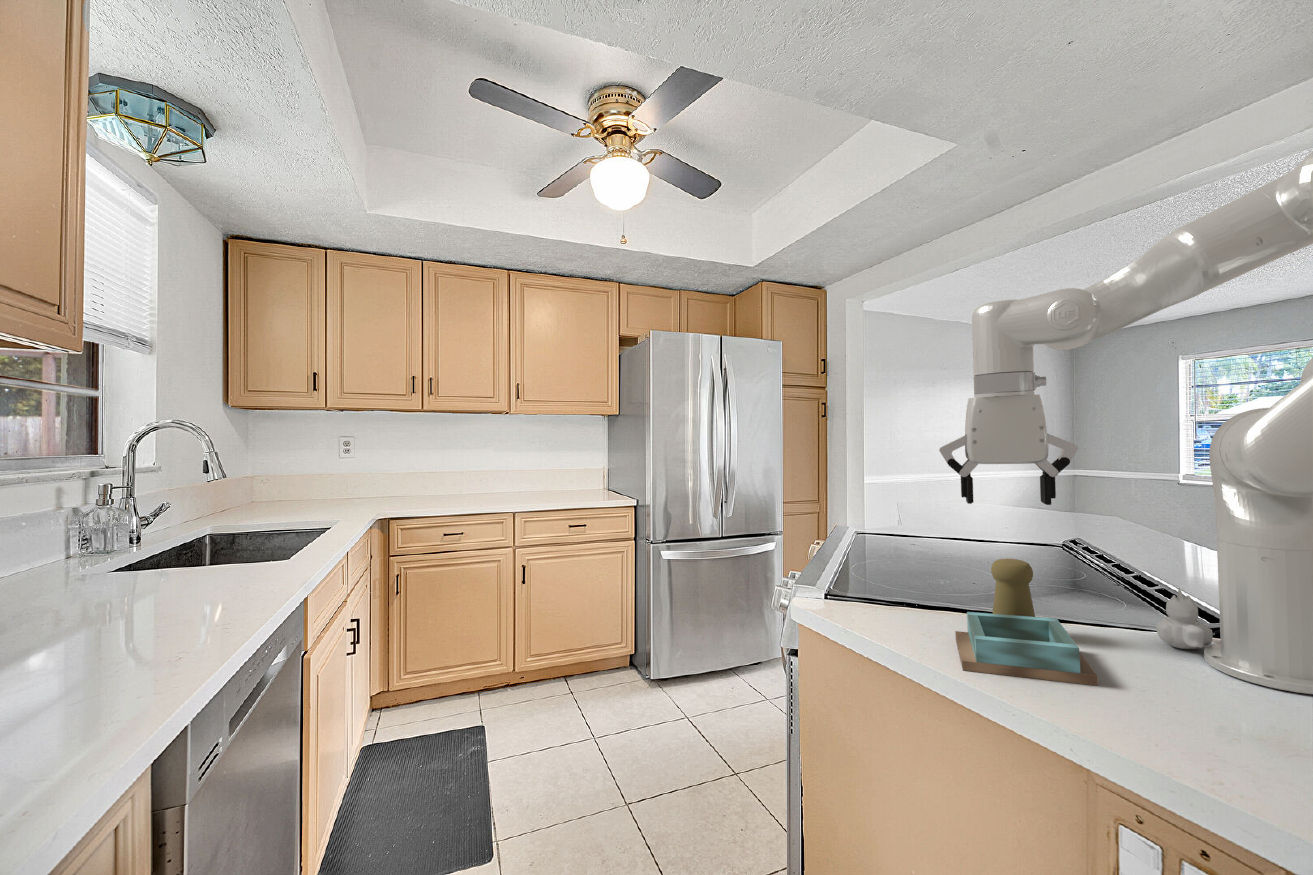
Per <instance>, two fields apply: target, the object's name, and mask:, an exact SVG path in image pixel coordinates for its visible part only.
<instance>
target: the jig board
mask: <svg viewBox="0 0 1313 875" xmlns="http://www.w3.org/2000/svg"><path fill="white" fill-rule="evenodd" d="M966 618H967V619H966V620H967V622H966V623H967V631H958V630H956V631H955V632H954V633H955V643H956V646H957V650H958V655H959V660H960V664H961V668H962V671H965V672H966V671H967V672H975V673H982V674H992V675H1001V676H1008V677H1009V676H1010V677H1016V678H1017V677H1018V678H1019V677H1020V678H1027V679H1035V680H1045V681H1053V682H1054V681H1055V682H1063V683H1071V684H1078V685H1079V684H1080V685H1090V686H1098V675H1097V673H1096V672H1095V671H1094V669H1093V668H1092V667H1091V665H1090V664H1089V662H1088V661H1087V659H1085V657H1084V656H1083V654H1082V652H1080V647H1079V646H1078V644H1077V643H1076V642H1075V640H1074V639H1073V638H1072V637H1071V636H1070V634H1069V633H1068V631H1067V630H1066V629H1065V628H1064V626H1063V625H1062V624H1061V622H1060V621H1059V619H1057V618H1052V617H1041V616H1039V617H1038V616H1035V617H1028V616H1015V615H1002V614H993V613H989V612H988V613H987V612H975V611H967V612H966Z"/></svg>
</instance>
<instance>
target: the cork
mask: <svg viewBox="0 0 1313 875" xmlns="http://www.w3.org/2000/svg"><path fill="white" fill-rule="evenodd" d="M990 571H991V575H992V576H991V577H993V579H994V580H995V589H994V595H993V596H994V597H993V606H992V614H1002V615H1015V616H1028V617H1036V615H1035V614H1036V613H1035V609H1034V608H1035V607H1034V603H1033V600H1032V593H1031V589H1030V583H1031V582H1032V581H1033V578H1034V572H1033V568H1032V566H1031V564H1029V562H1027V561H1024V560H1021V559H1016V558H1000V559H996V560H995V561H994V562H993V563H992V565H991V568H990Z"/></svg>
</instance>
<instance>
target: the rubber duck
mask: <svg viewBox="0 0 1313 875" xmlns="http://www.w3.org/2000/svg"><path fill="white" fill-rule="evenodd" d="M1165 612H1166V615H1167V616H1162V618H1161V619H1160V621H1158V622H1157V624H1156V632H1157V633H1156V634H1157V635H1158V637H1159V638H1160V640H1162V641H1164V642H1165V643H1167V644H1168V645H1170V646H1171V647H1174V648H1177V649H1180V650H1181V649H1182V650H1197V649H1202V648H1203V647H1204V646H1205V647H1206V646H1210V645H1212V642H1213V634H1214V633H1213V630H1212V629H1211V628H1210V627H1209V626H1207V625H1205V624H1203V623H1202V622H1199V621H1198V619H1199V608H1198V605H1197V604H1196V603H1195V602H1194V601H1193V599H1192V597H1191V596H1190V595H1186V596H1185V597H1184V595H1183V592H1182V590H1181V588H1179V587H1178V590H1177V596H1176V594H1173V595H1172V596H1171V598H1170V599H1169V600H1168V601H1167V602H1166V605H1165Z"/></svg>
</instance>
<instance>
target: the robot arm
mask: <svg viewBox="0 0 1313 875" xmlns="http://www.w3.org/2000/svg"><path fill="white" fill-rule="evenodd" d="M1311 245H1313V150H1312V151H1311V152H1310V153H1308V155H1306V156H1305V158H1304V159H1303V160H1302V161H1300V162H1299V164H1298V165H1297V166H1296V167H1295V168H1294V169H1293V170H1291V171H1289V172H1287V173H1286V174H1284V175H1282V176H1280V177H1277V178H1275V179H1273V180H1272V181H1270V182H1268V183H1266V184H1264V185H1262V186H1259V187H1258V188H1256V189H1254V190H1252V191H1250V192H1248V193H1247V194H1244V195H1242V196H1240V197H1239V198H1236V199H1235V200H1232V201H1231V202H1228V203H1226V204H1224V205H1223V206H1220V207H1219V208H1217V209H1214V210H1212V211H1211V212H1208V213H1206V214H1204V215H1202V216H1201V217H1198V218H1195V219H1194V220H1193V221H1191V222H1189V223H1186V224H1183V225H1182V226H1180V227H1179V228H1177V229H1174V230H1173V231H1171V232H1170V233H1168V234H1167V235H1166V236H1164V237H1163V238H1162V239H1160V240H1158V241H1157V242H1156V243H1154V244H1153V246H1151V247H1150V248H1149V249H1147V251H1145V252H1144V253H1143V254H1141V255H1140V256H1139V257H1138V258H1136V259H1135V260H1133V261H1131V263H1128V264H1127V265H1126V266H1125V267H1123V268H1121V269H1119V270H1117V271H1115V273H1113V274H1111V275H1108V276H1107V277H1105V278H1104V279H1101V280H1099V281H1097V282H1095V283H1093V284H1091V285H1090V286H1087V287H1085V288H1084V289H1081V288H1076V287H1075V288H1074V287H1073V288H1071V287H1070V288H1069V287H1068V288H1060V289H1056V290H1052V291H1048V292H1045V293H1042V294H1038V295H1035V296H1034V295H1033V296H1030V297H1025V298H1021V299H1004V300H997V301H991V302H987V303H984V304H981V305H979V306H977V307H976V308H975V309H974V310H973V312H972V315H971V331H972V332H971V333H972V334H971V335H972V359H973V360H972V361H973V363H972V364H973V365H972V366H973V394H974V396H973V397H970V398H969V397H968V399H967V400H968V401H967V405H966V410H965V424H964V435H963V436H961V437H959V438H957V439H954V440H952V441H950V442H949V443H947V444H945V445H942V446H941V447H939V452H940V455H941V456H942V458H943V459H944V460H945V462H946V464H947V465H948V467H950V469H952V470H953V471H955V472H956V473H957V474H958V475H959V476H960V496H961V498H965V501H966V503H967V504H969V505H973V503H974V478H973V477H972V476H971V473H972V471H974V469H975V468H976V467H977V466H978V465H1018V464H1019V465H1027V464H1028V465H1029V464H1033V465H1035V466H1037V467H1038V468H1039V469H1040V470H1041V471H1042V474H1040V476H1039V483H1040V484H1039V485H1040V486H1039V490H1040V493H1039V494H1040V496H1039V497H1040V502H1041V503H1043V504H1044V505H1046V506H1051V505H1052V499H1056V498H1057V497H1056V496H1057V495H1056V494H1057V493H1056V488H1057V486H1056V477H1058V476H1059V474H1060V473H1061V472H1062V471H1063V470H1064V469H1065V468H1067V467H1068V466H1069V465H1070V463H1071V460H1072V459H1073V458H1074V456H1075V454H1076V453H1077V451H1078V449H1079V446H1078V445H1077V444H1076V443H1072V442H1070V441H1068V440H1066V439H1062V438H1060V437H1058V436H1054V435H1052V434H1050V433H1049V432H1048V430H1047V422H1046V416H1045V411H1044V406H1043V401H1042V397H1041V395H1040V394H1035V392H1036V390H1037V388H1040V387H1046V386H1047V378H1046V377H1047V376H1040V375H1038V374H1036V371H1035V372H1034V370H1035V368H1034V367H1035V366H1034V364H1035V363H1034V346H1035V345H1044V346H1046V347H1048V348H1050V349H1053V350H1059V351H1060V350H1061V351H1069V350H1073V349H1077V348H1080V347H1082V346H1085V345H1087V344H1089V343H1092V342H1095V341H1096V340H1098V339H1100V338H1103V337H1105V336H1107V335H1110V334H1112V333H1114V332H1117V331H1118V330H1120V329H1124V328H1125V327H1128V326H1130V325H1132V324H1134V323H1136V322H1139V321H1141V320H1144V319H1145V318H1148V317H1149V316H1151V315H1153V314H1156V313H1158V312H1161V311H1163V310H1164V309H1168V308H1169V307H1172V306H1175V305H1177V304H1179V303H1183V302H1186V301H1188V300H1190V299H1192V298H1195V297H1197V296H1199V295H1201V294H1203V293H1205V292H1207V291H1209V290H1212V289H1214V288H1216V287H1218V286H1221V285H1223V284H1225V283H1227V282H1230V281H1231V280H1234V279H1237V278H1238V277H1240V276H1243V275H1245V274H1247V273H1249V272H1252V271H1253V270H1255V269H1258V268H1260V267H1262V266H1265V265H1266V264H1269V263H1271V262H1273V261H1275V260H1276V261H1277V260H1278V259H1280V258H1283V257H1285V256H1287V255H1289V254H1292V253H1295V252H1297V251H1300V250H1302V249H1304V248H1306V247H1308V246H1311ZM1049 445H1051V446H1054V447H1056V448H1058V449H1060V450H1061V453H1060V455H1059V457H1058V458H1057V459H1056V460H1054V461H1053V462H1052V463H1050V462H1049V461H1048V457H1049ZM962 447H964V453H965V457H966V460H965V462H964V463H962V465H961V464H960V462H958V461H957V460H956V458H955V457H954V456H953V452H954V451H956V450H958V449H960V448H962ZM1208 453H1209V454H1208V455H1209V469H1210V474H1211V475H1210V476H1211V480H1212V481H1211V482H1212V488H1213V495H1214V497H1213V498H1214V506H1215V525H1216V526H1215V527H1216V549H1217V550H1216V552H1217V553H1216V555H1217V556H1216V557H1217V576H1218V577H1217V579H1218V580H1217V583H1218V604H1219V605H1218V608H1219V632H1220V633H1219V634H1220V643H1214V644H1209V645H1207V646H1205V648H1204V649H1203V658H1204V661H1205V662H1206V663H1207V664H1208V665H1210V666H1211V667H1212V668H1214V669H1216V670H1218V671H1220V672H1222V673H1224V674H1225V675H1228V676H1231V677H1234V678H1235V679H1239V680H1243V681H1245V682H1248V683H1252V684H1256V685H1261V686H1264V687H1268V688H1271V689H1276V690H1282V691H1288V692H1292V693H1298V694H1299V693H1300V694H1305V695H1313V357H1311V358H1310V359H1309V361H1307V363H1306V365H1305V367H1304V368H1303V369H1302V373H1301V375H1300V383H1299V384H1298V385H1297V386H1294V388H1292V389H1291V390H1290V391H1289V392H1288V393H1286V394H1285V395H1284V396H1282V398H1280V399H1279V400H1278V401H1276V402H1275V403H1274V404H1272V405H1270V407H1260V408H1253V409H1250V410H1247V411H1243V412H1240V413H1238V414H1236V415H1234V416H1231V417H1230V418H1229V419H1227V420H1226V421H1224V422H1223V423H1222V424H1221V425H1220V426H1219V427H1218V429H1217V430H1216V431H1215V432H1214V434H1213V436H1212V438H1211V441H1210V445H1209V452H1208Z"/></svg>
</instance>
